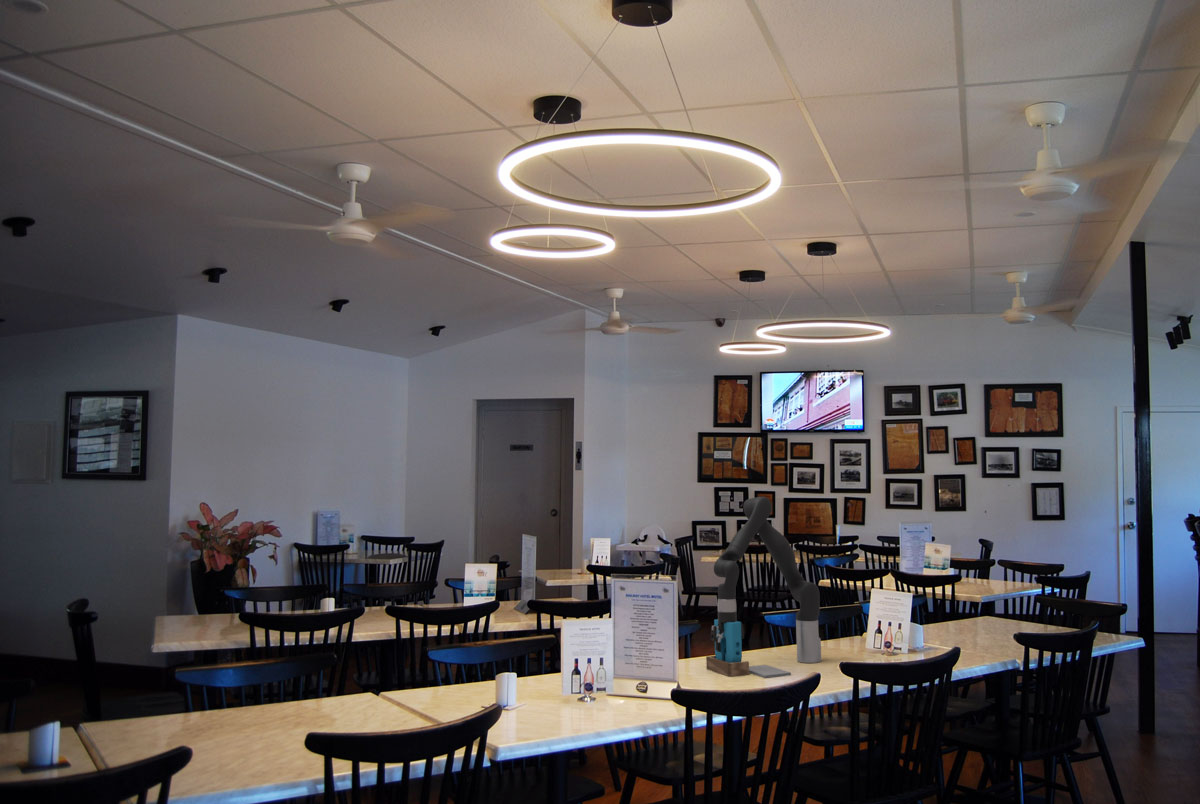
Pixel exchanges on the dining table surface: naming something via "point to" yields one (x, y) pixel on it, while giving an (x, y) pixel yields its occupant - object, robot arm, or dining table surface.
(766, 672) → the slate pad
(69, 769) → the dining table surface
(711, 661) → the walnut stall
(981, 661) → the dining table surface
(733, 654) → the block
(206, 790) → the dining table surface
